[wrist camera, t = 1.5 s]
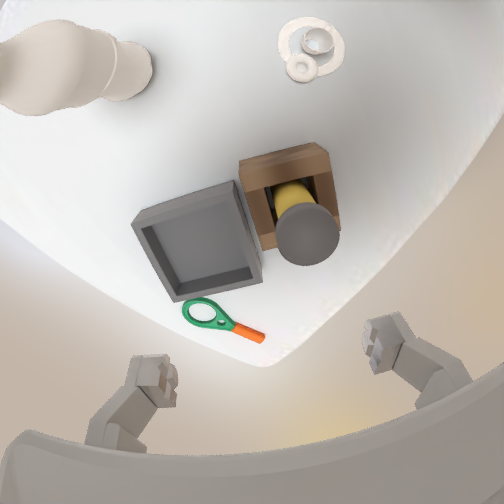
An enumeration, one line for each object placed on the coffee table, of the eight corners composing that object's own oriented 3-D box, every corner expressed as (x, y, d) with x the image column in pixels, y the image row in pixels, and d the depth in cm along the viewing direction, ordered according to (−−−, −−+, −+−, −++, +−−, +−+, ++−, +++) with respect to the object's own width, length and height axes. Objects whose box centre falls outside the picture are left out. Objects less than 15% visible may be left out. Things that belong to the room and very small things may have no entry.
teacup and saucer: (300, 92, 28) (307, 91, 24) (257, 42, 24) (259, 34, 21) (355, 57, 25) (369, 54, 22) (315, 8, 22) (325, -2, 18)
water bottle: (120, 39, 22) (-47, 10, 1) (169, 55, 24) (14, 3, 3) (96, 90, 26) (-79, 132, 4) (141, 108, 28) (-31, 167, 6)
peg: (301, 161, 32) (335, 202, 21) (310, 199, 35) (342, 257, 23) (260, 171, 33) (270, 219, 21) (270, 209, 35) (284, 272, 24)
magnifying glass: (177, 312, 45) (175, 319, 44) (192, 289, 42) (190, 296, 41) (252, 343, 50) (252, 351, 48) (271, 325, 47) (272, 332, 46)
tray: (233, 180, 33) (232, 191, 30) (261, 265, 40) (262, 282, 36) (140, 210, 35) (130, 224, 31) (178, 285, 41) (173, 302, 38)
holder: (313, 142, 31) (328, 152, 26) (327, 209, 35) (341, 230, 30) (239, 161, 32) (238, 174, 27) (259, 226, 37) (262, 251, 31)
